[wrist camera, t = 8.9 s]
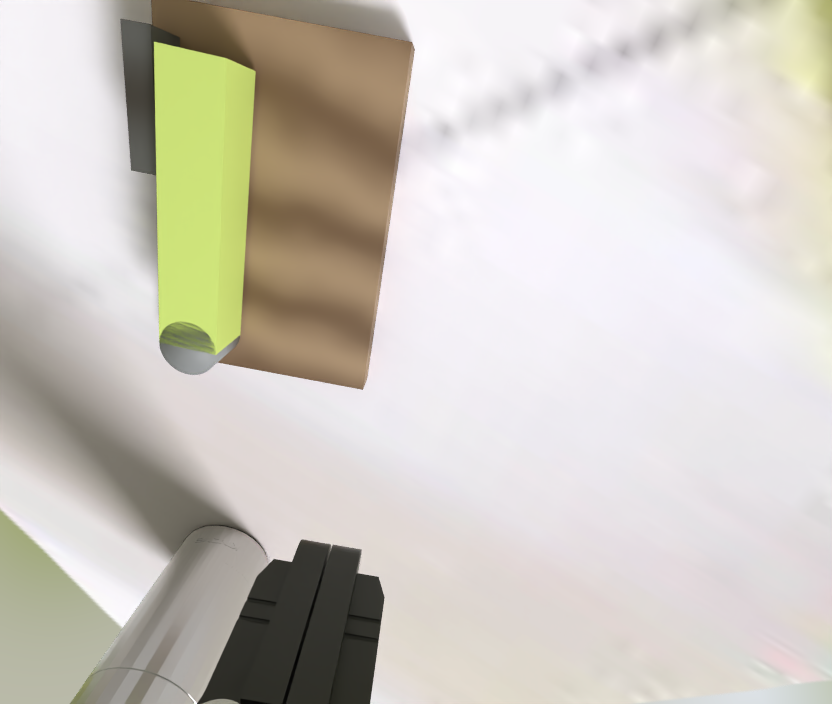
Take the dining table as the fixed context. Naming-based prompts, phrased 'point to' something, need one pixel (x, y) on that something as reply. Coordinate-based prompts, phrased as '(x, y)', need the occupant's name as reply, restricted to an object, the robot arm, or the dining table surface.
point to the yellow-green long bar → (201, 202)
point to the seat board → (297, 175)
